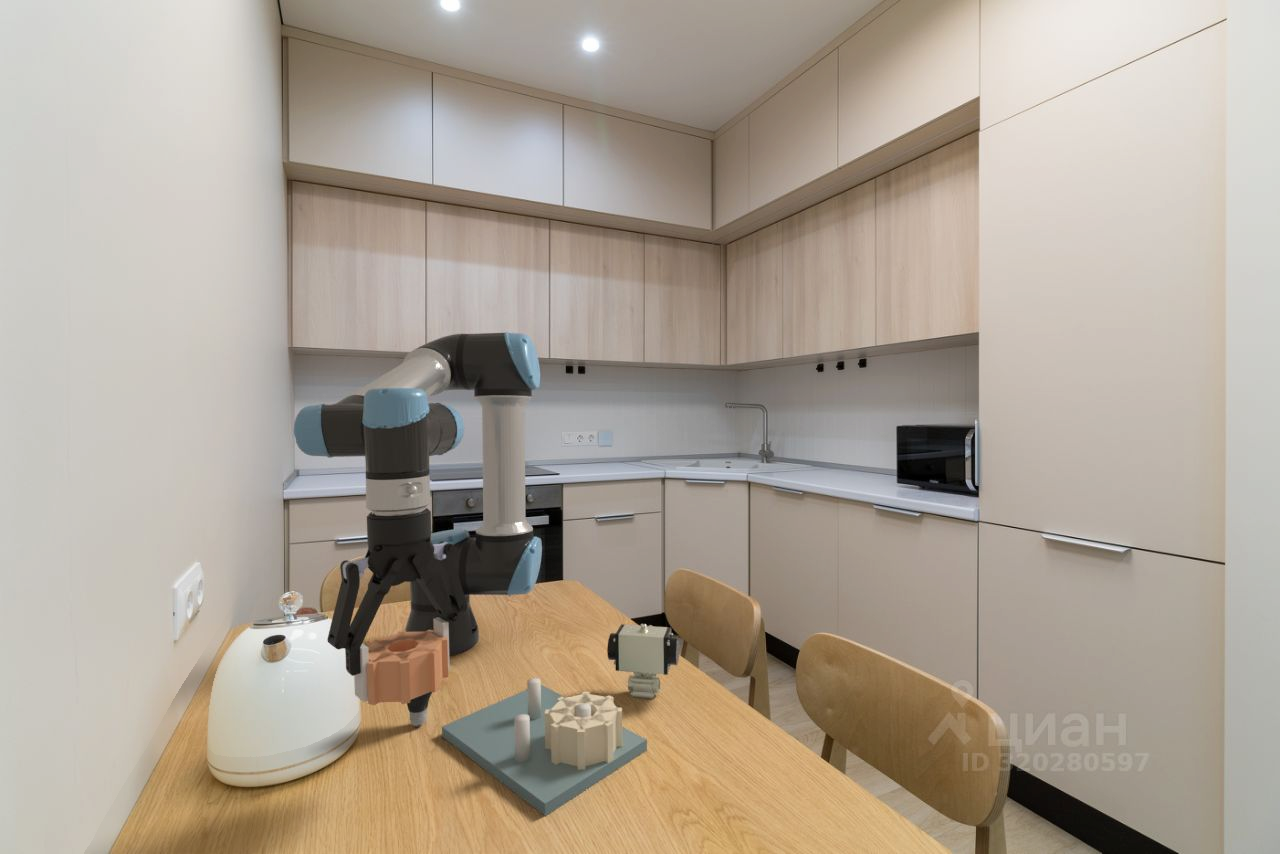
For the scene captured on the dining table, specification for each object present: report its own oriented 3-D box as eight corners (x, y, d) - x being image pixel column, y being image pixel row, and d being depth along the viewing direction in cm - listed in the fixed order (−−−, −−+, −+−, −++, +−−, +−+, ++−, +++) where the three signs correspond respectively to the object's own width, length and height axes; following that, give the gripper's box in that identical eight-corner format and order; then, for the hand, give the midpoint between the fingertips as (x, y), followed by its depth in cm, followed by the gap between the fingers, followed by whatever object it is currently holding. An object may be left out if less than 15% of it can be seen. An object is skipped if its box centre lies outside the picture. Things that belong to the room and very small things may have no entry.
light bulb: (445, 719, 90) (444, 656, 90) (420, 738, 85) (419, 672, 85) (416, 713, 92) (415, 652, 92) (390, 732, 87) (389, 666, 86)
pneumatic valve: (676, 704, 94) (675, 631, 94) (607, 697, 96) (606, 627, 96) (680, 688, 100) (680, 619, 99) (615, 682, 102) (614, 615, 102)
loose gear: (346, 685, 73) (345, 647, 73) (423, 658, 81) (422, 623, 81) (380, 714, 66) (379, 672, 66) (461, 682, 74) (460, 644, 74)
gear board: (442, 736, 85) (441, 690, 85) (539, 692, 98) (539, 652, 98) (545, 816, 68) (544, 758, 68) (647, 749, 81) (646, 701, 81)
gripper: (312, 528, 62) (319, 729, 63) (492, 501, 78) (495, 661, 79) (290, 519, 67) (297, 705, 68) (463, 495, 83) (467, 646, 84)
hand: (404, 681), depth 74 cm, fingers closed on loose gear, 10 cm apart
